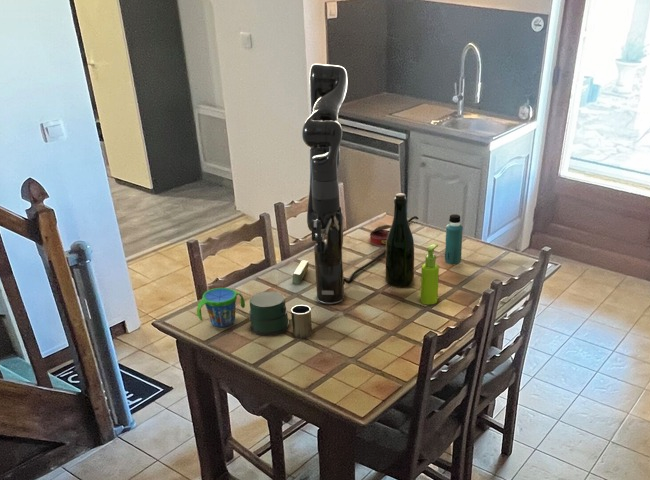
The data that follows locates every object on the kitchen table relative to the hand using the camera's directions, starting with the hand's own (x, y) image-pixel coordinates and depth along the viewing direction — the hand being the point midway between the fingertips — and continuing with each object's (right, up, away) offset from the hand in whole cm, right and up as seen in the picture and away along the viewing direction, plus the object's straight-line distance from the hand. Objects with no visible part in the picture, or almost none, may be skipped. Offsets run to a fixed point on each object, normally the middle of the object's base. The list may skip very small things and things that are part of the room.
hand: (328, 247), depth 202 cm
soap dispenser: (+31, -12, +38) cm, 50 cm away
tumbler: (-10, -25, +16) cm, 32 cm away
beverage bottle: (+40, +3, +63) cm, 75 cm away
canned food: (+12, +16, +81) cm, 83 cm away
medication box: (-16, -3, +51) cm, 54 cm away
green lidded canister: (-21, -22, +20) cm, 37 cm away
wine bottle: (+20, -5, +50) cm, 54 cm away
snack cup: (-37, -21, +22) cm, 48 cm away
